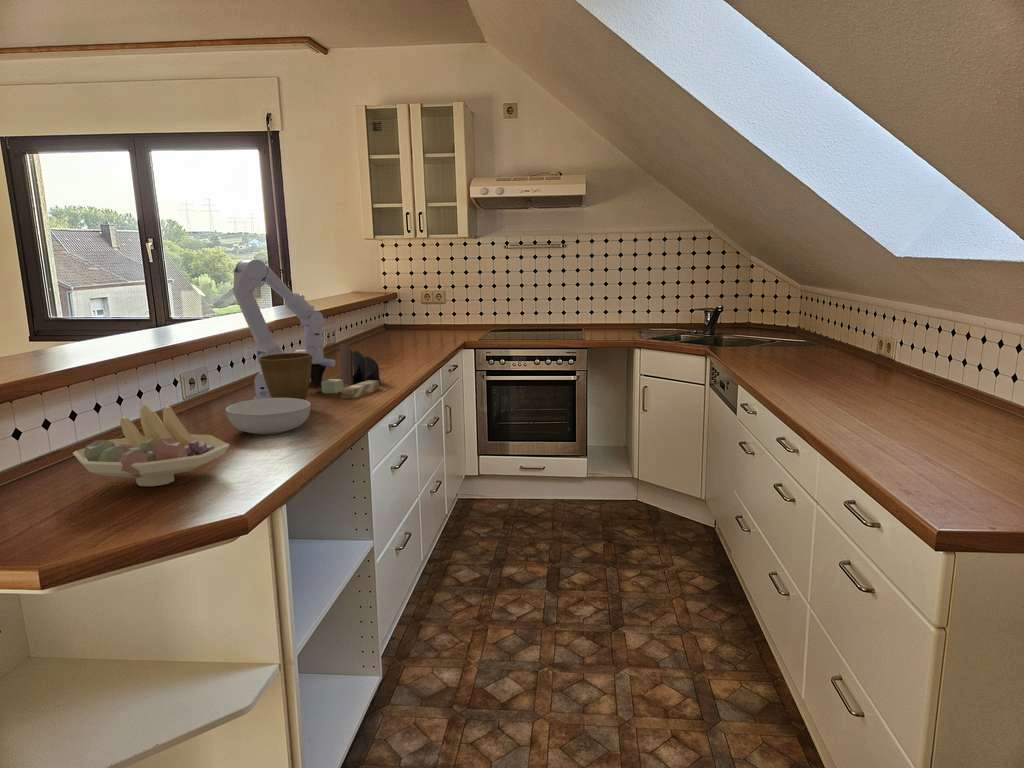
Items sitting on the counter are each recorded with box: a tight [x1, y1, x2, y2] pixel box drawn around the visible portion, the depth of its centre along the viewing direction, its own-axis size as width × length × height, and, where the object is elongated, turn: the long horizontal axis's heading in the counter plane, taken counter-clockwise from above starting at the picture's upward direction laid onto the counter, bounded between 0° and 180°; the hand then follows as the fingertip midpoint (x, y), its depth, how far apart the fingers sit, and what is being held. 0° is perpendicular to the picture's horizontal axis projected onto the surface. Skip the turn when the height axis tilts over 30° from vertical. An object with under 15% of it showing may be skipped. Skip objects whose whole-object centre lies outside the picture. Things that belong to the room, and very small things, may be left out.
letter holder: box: [339, 343, 381, 387], centre depth 249 cm, size 10×20×14 cm, turn 24°
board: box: [340, 380, 380, 399], centre depth 230 cm, size 16×4×3 cm, turn 159°
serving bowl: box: [225, 398, 312, 436], centre depth 183 cm, size 21×21×7 cm
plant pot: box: [259, 352, 312, 400], centre depth 208 cm, size 15×15×16 cm
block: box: [320, 378, 344, 394], centre depth 233 cm, size 5×5×4 cm
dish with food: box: [72, 404, 231, 487], centre depth 142 cm, size 28×28×14 cm
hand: (316, 386), depth 236 cm, fingers closed
